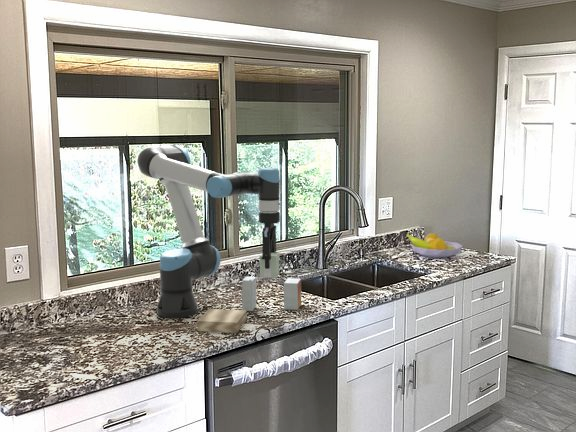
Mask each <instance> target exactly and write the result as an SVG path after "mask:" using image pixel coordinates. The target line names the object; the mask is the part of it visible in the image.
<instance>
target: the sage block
mask: <svg viewBox="0 0 576 432" xmlns="http://www.w3.org/2000/svg"><path fill="white" fill-rule="evenodd" d="M261 258H262V253H261V254H260V255H259V278H263V279H268V278H269V279H277V278H278V277H279V276H280V252H277V253H272V252H271V259H272V277H264V259H261Z"/></svg>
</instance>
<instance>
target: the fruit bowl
mask: <svg viewBox="0 0 576 432" xmlns="http://www.w3.org/2000/svg"><path fill="white" fill-rule="evenodd" d="M406 236H407V237H408V239H409V241H410V242H411V243H410V245H411V246H410V247H411V248H412V250H413V252H414V253H417V254H419V255H420V256H423V257H428V258H433V259H442V258H451V257H453V256H454V255H457V254H459V253H460V252H461V250H462V249H463V245H462V244H460V243H458V242H456V241H455V242H453V241H448V240H443V239H441V237H440V236H439V235H438V234H437V233H432V232H430V233H428V234H427V235H426V236H425V237H424V239H420V238H418V237H414V236H412V235H410V234H409V233H407V234H406Z"/></svg>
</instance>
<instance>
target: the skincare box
mask: <svg viewBox="0 0 576 432" xmlns="http://www.w3.org/2000/svg"><path fill="white" fill-rule="evenodd" d="M256 307H257V276H245V277H244V278H243V279H242V280H241V310H246V312H253V311H254V310H255V308H256Z"/></svg>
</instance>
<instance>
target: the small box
mask: <svg viewBox="0 0 576 432" xmlns="http://www.w3.org/2000/svg"><path fill="white" fill-rule="evenodd" d="M301 305H302V279H301V278H292V277H288V278H287V279H286V280H285V281H284V282H283V309H284V310H287V311H289V310H291V311H298V310H299V308H300V307H301Z"/></svg>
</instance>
